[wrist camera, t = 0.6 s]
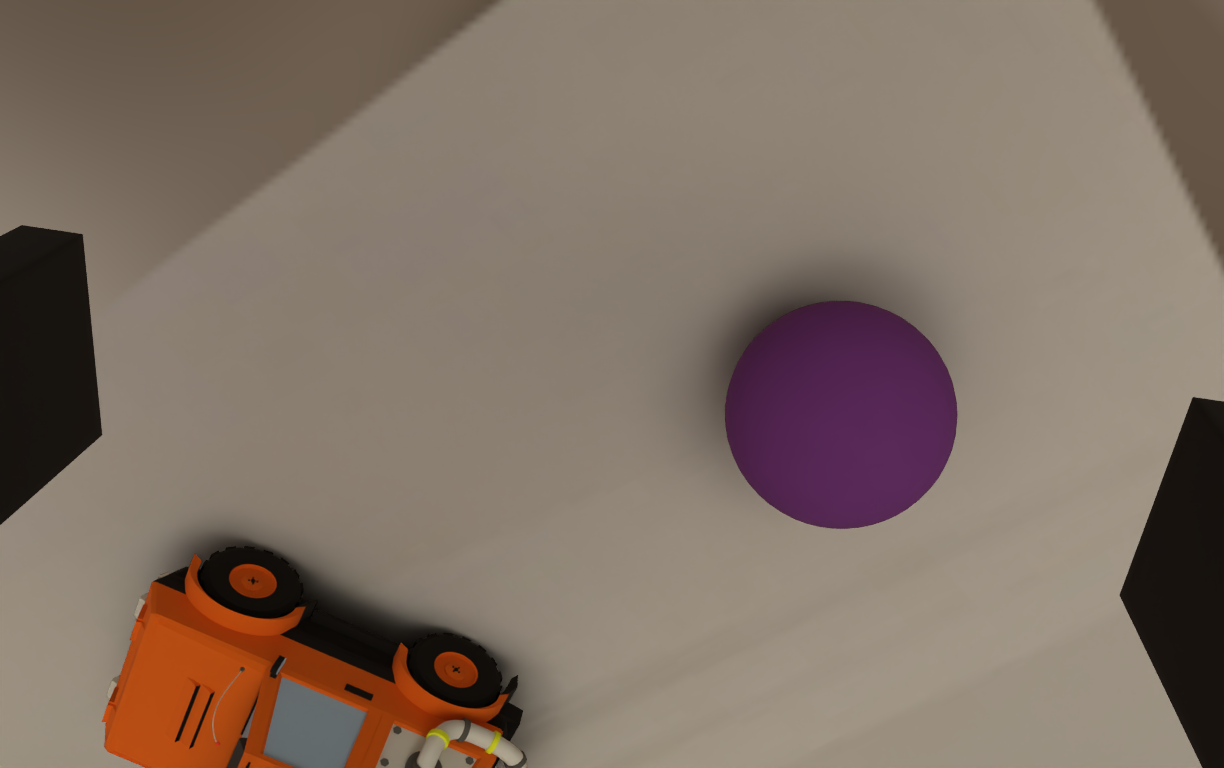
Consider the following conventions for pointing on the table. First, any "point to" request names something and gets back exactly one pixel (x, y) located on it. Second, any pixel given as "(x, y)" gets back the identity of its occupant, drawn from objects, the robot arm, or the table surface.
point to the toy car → (295, 682)
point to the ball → (841, 414)
